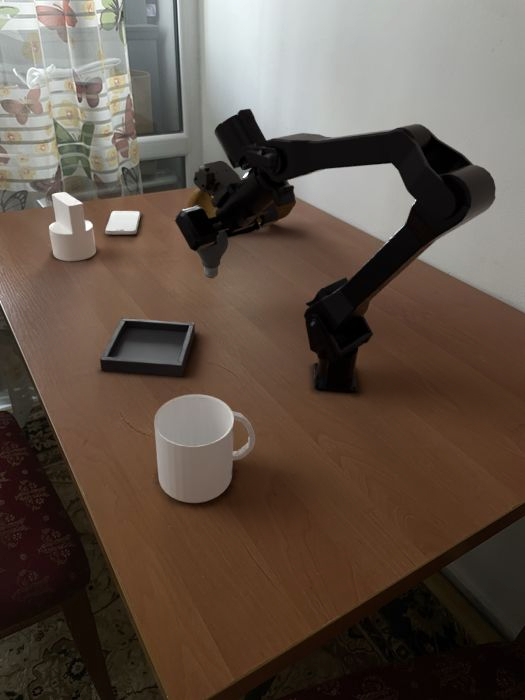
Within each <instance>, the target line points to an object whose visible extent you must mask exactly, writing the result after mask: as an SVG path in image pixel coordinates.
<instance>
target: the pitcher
mask: <svg viewBox="0 0 525 700" xmlns="http://www.w3.org/2000/svg"><path fill="white" fill-rule="evenodd" d="M213 198H214V197H213V196H212V195H211V194H210V193H209V192H208V191H205V192H202V191H201V190H200V189H199V188H198V187H197V188H196V189H195V190H194V191H193V192H192V193H191V195H190V197H189V199H188V202H187V205H186V209H188V208H192V207H195V206H199V207H202V208H203V209H204V211H205V213H206V214H207V216H208V218H212V217H216V215H215V213H214V211H215V210H217V207H214V206H213V205H212V203H211V200H212V199H213ZM272 203H273V204H274V206H275V208H276V210H277V212H278V219H277V220H276V221H275V222H274V223H273V224H275V223H277V222H278V221H280V220H283V219H284V218H286V217H287V216H289V215H290V213H291V212H292V210H293V209H294V207H295V206H296V203H297V200H296V199H295V202H293V203H290V204H286V205H283V206H280V207H278V206H277V205H276V203H275V202H274V201H273V202H272ZM257 217H258V220H257V222H258V223H259V224H260V223H261V222H262V220H261V218H260V216H257ZM221 225H222V224H221Z"/></svg>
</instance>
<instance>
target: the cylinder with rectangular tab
mask: <svg viewBox="0 0 525 700" xmlns="http://www.w3.org/2000/svg"><path fill="white" fill-rule="evenodd" d="M51 199H52V206H53V210H54V212H53V213H54V217H55V221H54V222H52V223H51V224H50V225H49V226H48V232H49V238H50V244H51V249H52V254H53V255H52V256H53V257H54V258H56V259H58V260H61V261H66V262H76V261H77V262H78V261H84V260H87V259H90V258H92V257H93V256H95V254H96V253H97V248H96V240H95V232H94V225H93V223H92V222H91V221H90V220H88V219H87V220H86V219H85V212H84V211H85V210H84V203H83V202H82V201H80V200H78V199H77V198H75V197H74V196H73V195H70V194H69V193H67V192H66V191H62V192H56V193H52V194H51Z"/></svg>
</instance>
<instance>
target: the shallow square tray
mask: <svg viewBox="0 0 525 700" xmlns="http://www.w3.org/2000/svg"><path fill="white" fill-rule="evenodd" d="M195 335H196V323H194V322H184V321H182V322H180V321H167V320H153V319H141V318H126V317H121V319H120V321H119V323H118V325H117V327H116V329H115V331H114V333H113V335H112V336H111V338H110V340H109V341H108V343H107V346H106V348H105V349H104V351H103V353H102V355H101V357H100V358H99V363H100V367H101V369H100V370H101V371H102V372H111V373H112V372H113V373H124V374H125V373H126V374H137V375H151V376H164V377H165V376H167V377H179V378H180V377H181V378H182V377H183V375H184V373H185V372H184V371H185V368H186V365H187V361H188V359H189V355H190V351H191V348H192V346H193V342H194V338H195Z"/></svg>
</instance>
